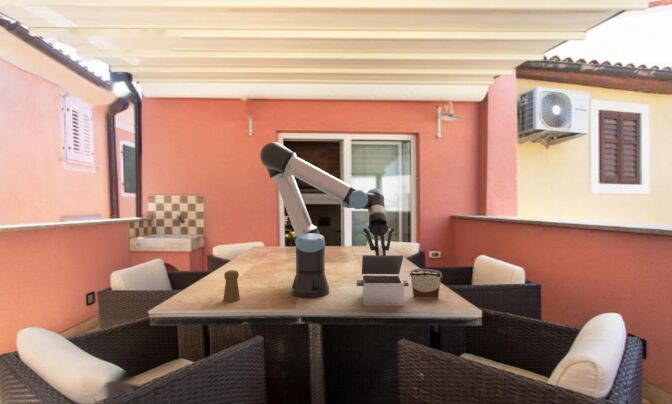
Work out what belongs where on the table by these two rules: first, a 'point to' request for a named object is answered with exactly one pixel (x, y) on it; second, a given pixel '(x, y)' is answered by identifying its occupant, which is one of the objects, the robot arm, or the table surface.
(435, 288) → the food container
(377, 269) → the pot lid
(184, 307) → the table surface
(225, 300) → the cork
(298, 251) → the robot arm
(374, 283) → the rectangular cooking pot
